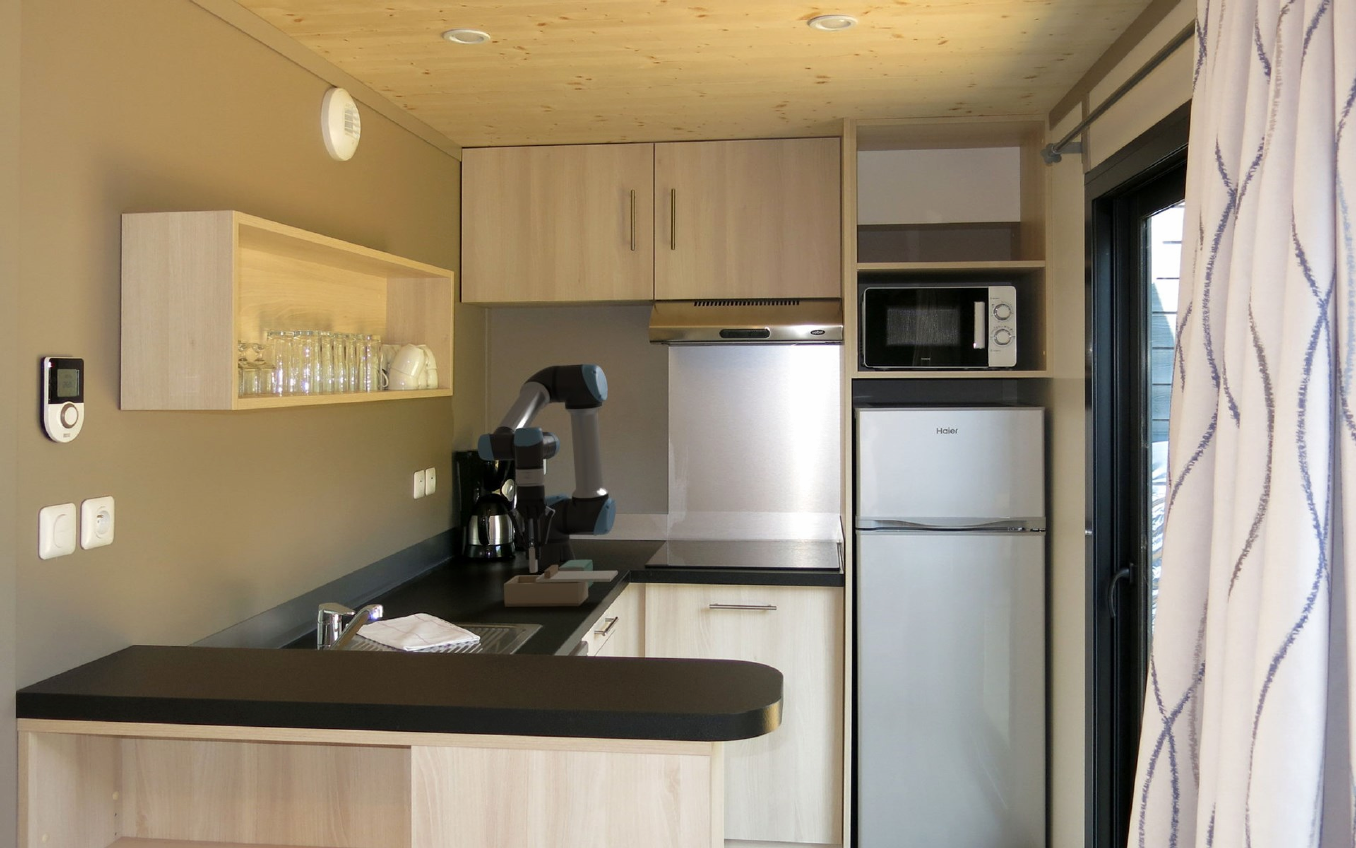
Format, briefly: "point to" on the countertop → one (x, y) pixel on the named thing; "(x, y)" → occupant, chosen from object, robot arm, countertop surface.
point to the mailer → (543, 592)
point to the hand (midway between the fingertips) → (533, 571)
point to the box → (578, 566)
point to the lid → (575, 575)
